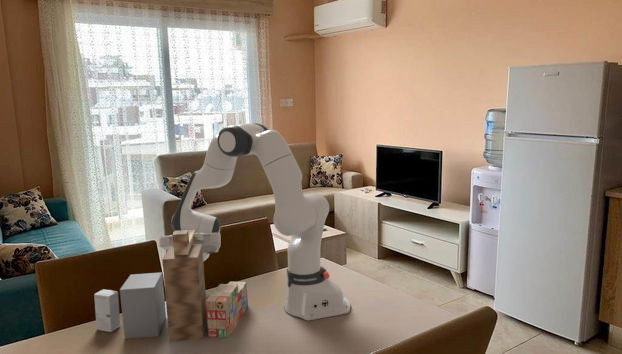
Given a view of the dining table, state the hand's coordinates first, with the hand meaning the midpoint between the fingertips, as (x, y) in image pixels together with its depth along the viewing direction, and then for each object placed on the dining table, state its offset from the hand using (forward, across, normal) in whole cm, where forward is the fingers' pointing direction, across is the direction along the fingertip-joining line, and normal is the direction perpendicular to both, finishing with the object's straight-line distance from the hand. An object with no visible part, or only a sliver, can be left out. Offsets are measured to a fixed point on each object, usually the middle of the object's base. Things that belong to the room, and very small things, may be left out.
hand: (187, 236), depth 145 cm
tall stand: (-6, 0, +29) cm, 30 cm away
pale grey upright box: (-9, -14, +27) cm, 32 cm away
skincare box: (-11, -26, +26) cm, 39 cm away
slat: (+3, 0, +4) cm, 5 cm away
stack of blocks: (-9, +12, +27) cm, 31 cm away
